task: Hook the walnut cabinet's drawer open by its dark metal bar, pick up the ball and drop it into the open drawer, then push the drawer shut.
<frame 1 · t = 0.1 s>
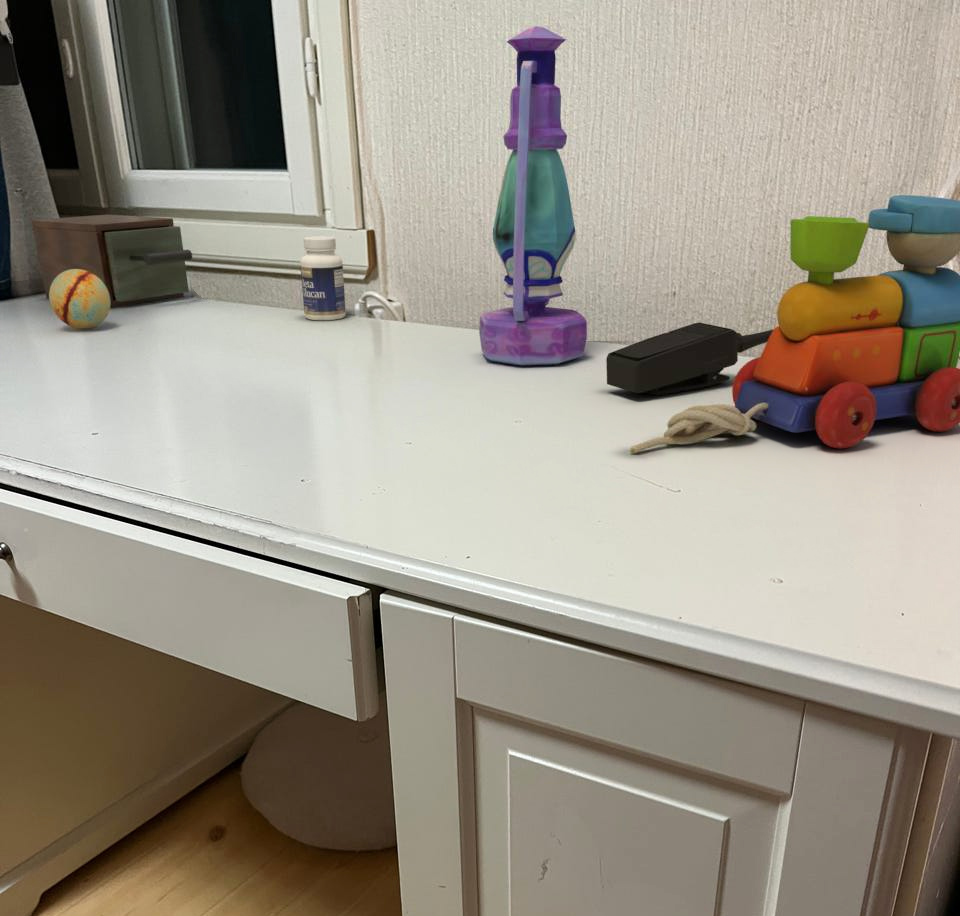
walkie-talkie: (699, 385, 93), on the table
drawer: (130, 261, 141), point 5 cm above the table, slide at 1.0 cm
cabinet: (115, 297, 147), on the table
ball: (85, 330, 123), on the table
pill bottle: (325, 319, 129), on the table
toy train: (806, 431, 79), on the table
lantern: (531, 359, 105), on the table
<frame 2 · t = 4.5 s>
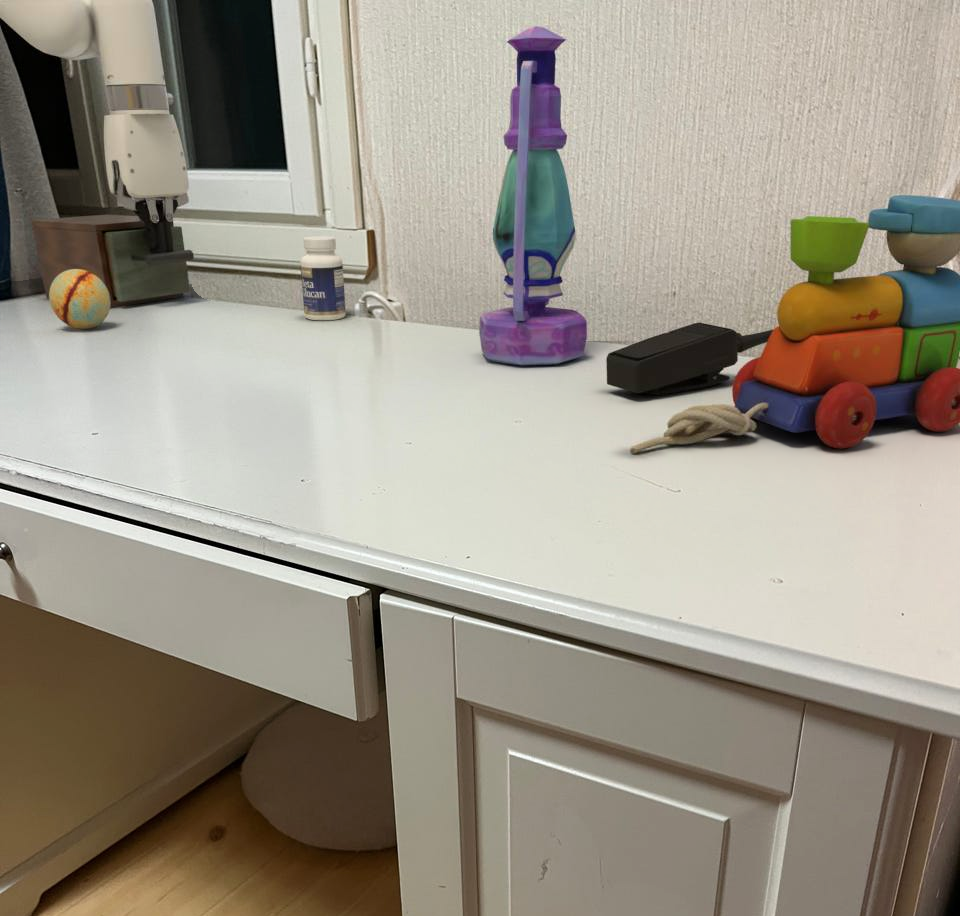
hand: (161, 252, 137), 7 cm above the table, tool pointing down, fingers closed
drawer: (131, 261, 141), point 5 cm above the table, slide at 1.3 cm, touching gripper
everything else where it was.
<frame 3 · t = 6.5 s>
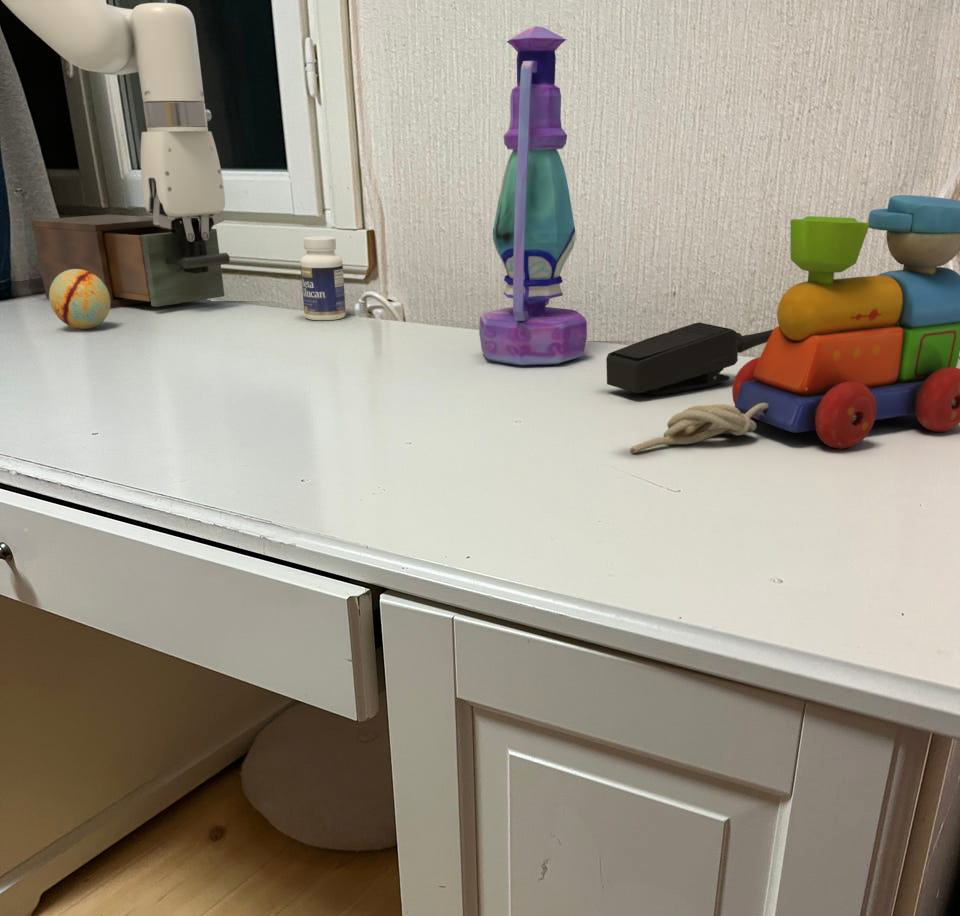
hand: (196, 271, 133), 5 cm above the table, tool pointing down, fingers closed
drawer: (165, 265, 137), point 5 cm above the table, slide at 9.0 cm
everything else where it was.
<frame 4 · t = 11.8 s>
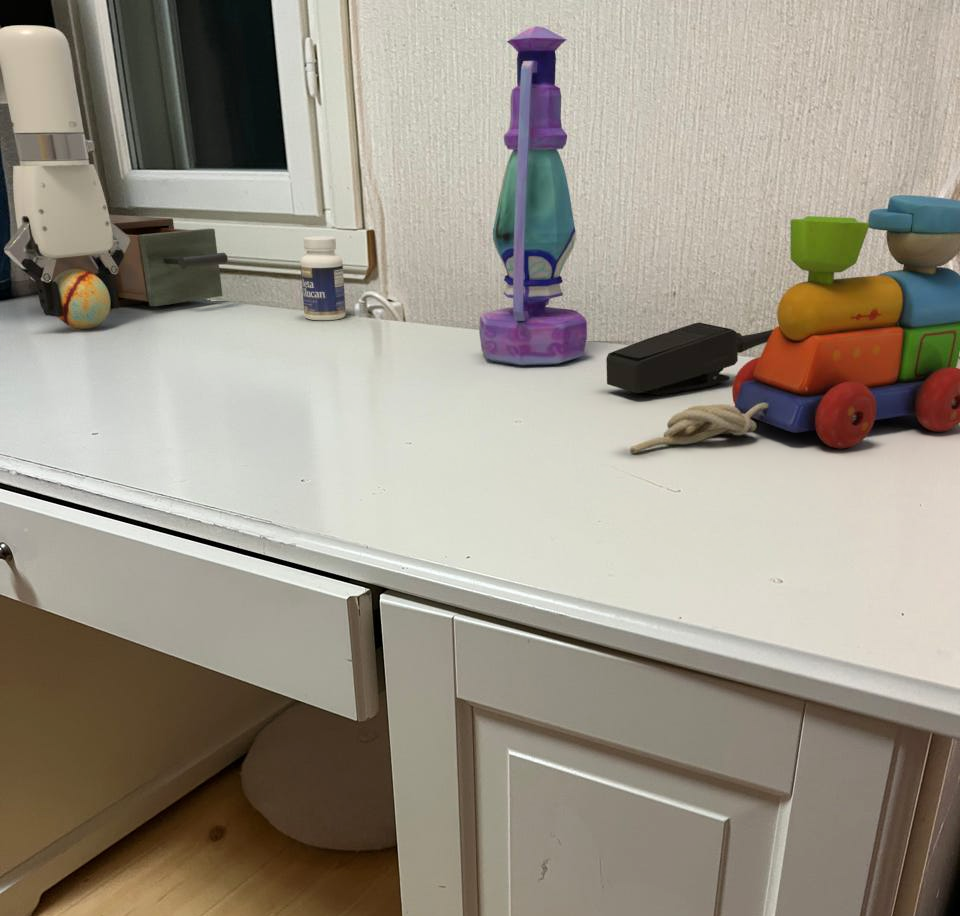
hand: (82, 310, 122), 2 cm above the table, tool pointing down, fingers closed on ball, 7 cm apart
drawer: (163, 264, 137), point 5 cm above the table, slide at 8.6 cm
ball: (85, 330, 123), on the table, touching gripper
everything else where it was.
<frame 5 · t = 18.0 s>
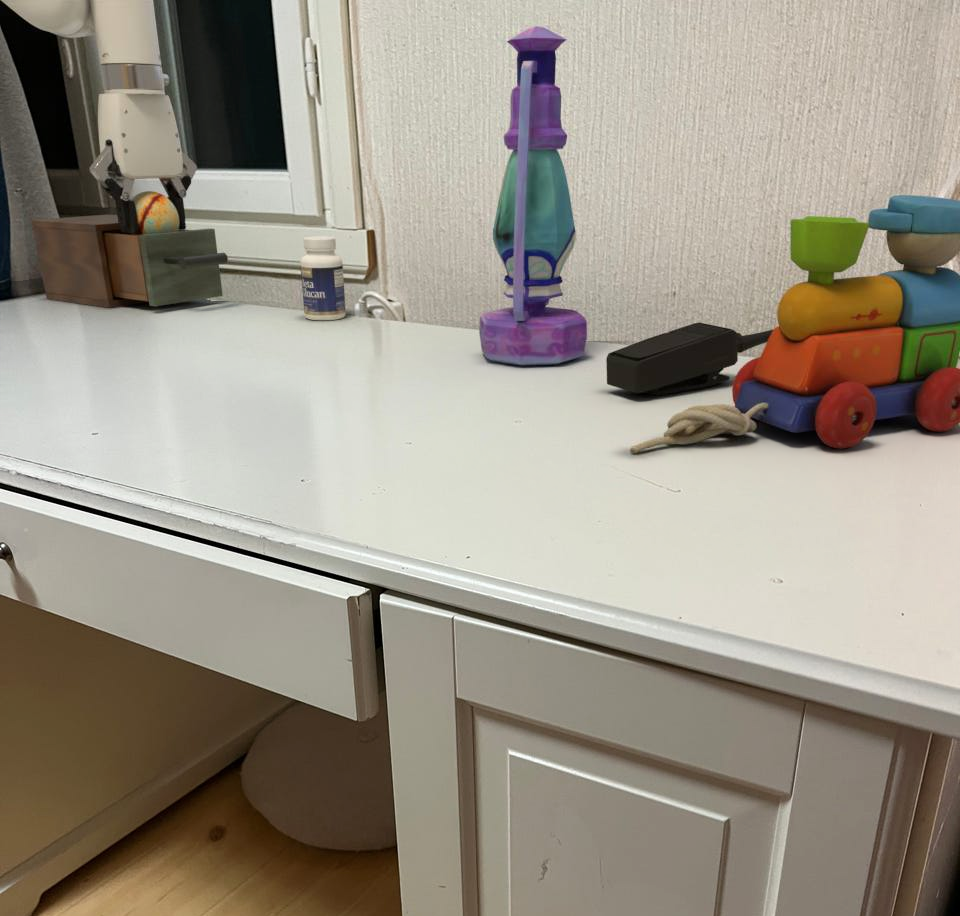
hand: (153, 229, 135), 10 cm above the table, tool pointing down, fingers closed on ball, 7 cm apart
ball: (156, 248, 136), point 8 cm above the table, touching gripper
everything else where it was.
when the fingers open (11 cm above the table, at t = 25.8 s): ball drops 6 cm, resting on drawer.
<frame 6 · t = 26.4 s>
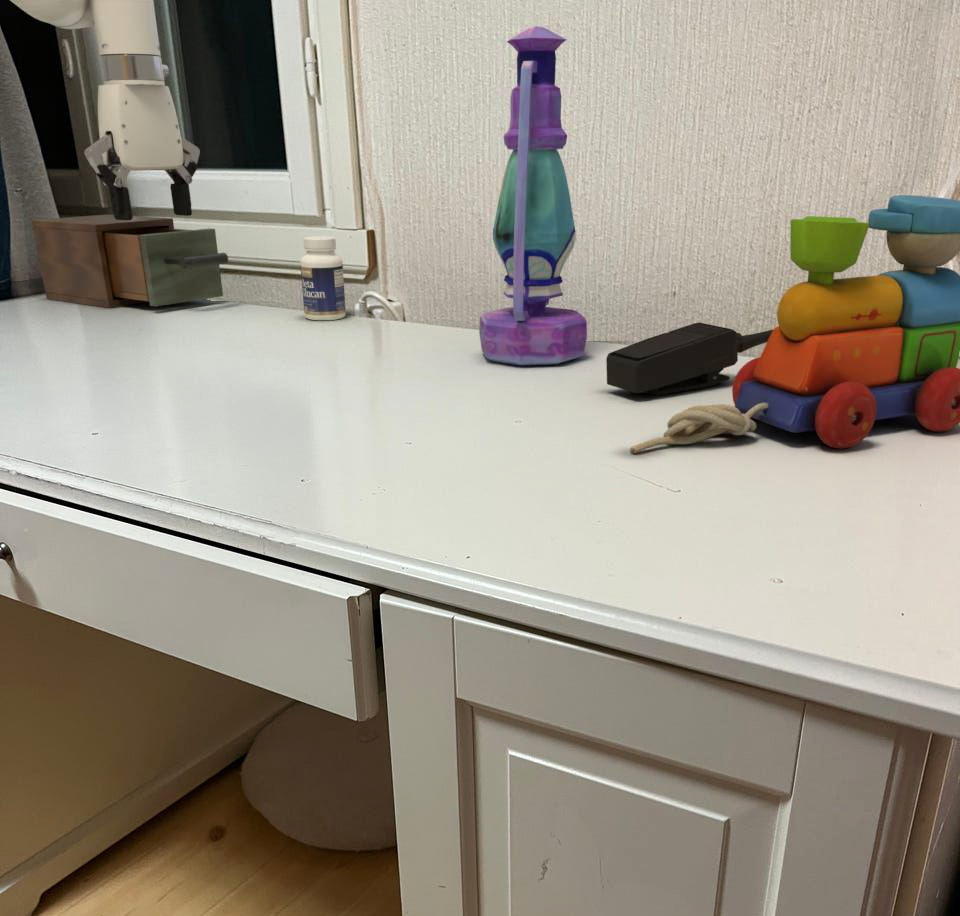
hand: (154, 217, 135), 11 cm above the table, tool pointing down, fingers open, 9 cm apart
drawer: (163, 264, 137), point 5 cm above the table, slide at 8.7 cm, touching ball
ball: (164, 290, 139), point 2 cm above the table, touching drawer
everything else where it was.
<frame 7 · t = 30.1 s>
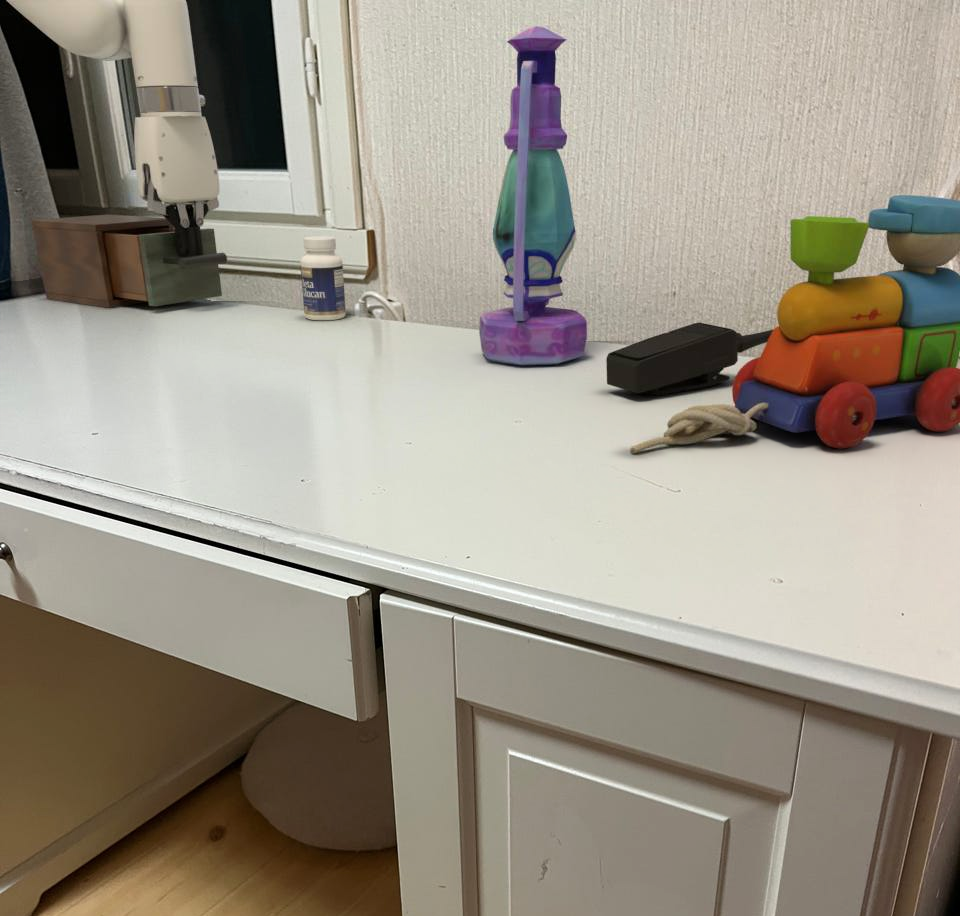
hand: (191, 258, 133), 7 cm above the table, tool pointing down, fingers closed
drawer: (162, 264, 137), point 5 cm above the table, slide at 8.5 cm, touching ball, gripper
everything else where it was.
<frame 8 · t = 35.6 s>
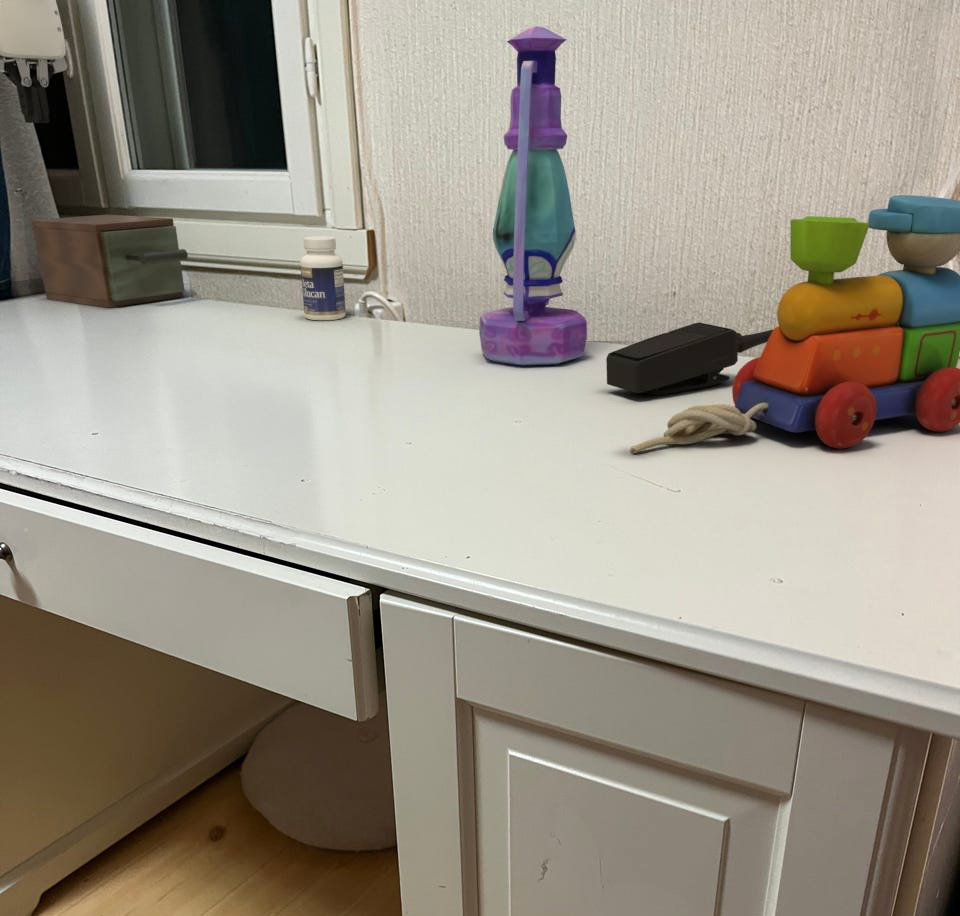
hand: (37, 122, 128), 23 cm above the table, tool pointing down, fingers closed
drawer: (126, 261, 142), point 5 cm above the table, slide at 0.0 cm, touching ball
ball: (127, 286, 144), point 2 cm above the table, touching drawer
everything else where it was.
at the end: drawer pulled out 9.0 cm at the most during the clip, back to where it started at the end; ball inside the target area in the cabinet (3.6 cm from its centre), point 1.9 cm above the cabinet's base; drawer slide at 0.0 cm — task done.
